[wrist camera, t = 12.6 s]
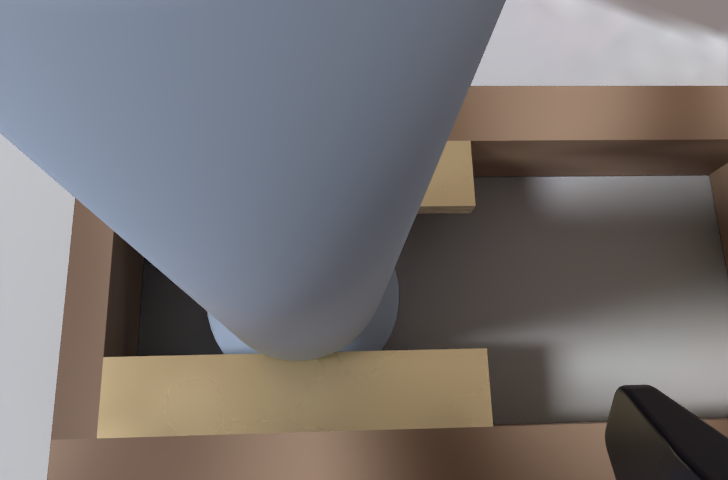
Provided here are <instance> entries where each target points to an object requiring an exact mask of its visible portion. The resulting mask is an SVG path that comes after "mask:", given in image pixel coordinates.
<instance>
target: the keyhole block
mask: <svg viewBox="0 0 728 480" xmlns="http://www.w3.org/2000/svg"><path fill="white" fill-rule="evenodd" d="M636 175H709V177H710V182H711V187H712V193H713V198H714V203H715V209H716V214H717V219H718V225H719V230H720V235H721V241H722V246H723V251H724V257H725V262H726V267H727V273H728V86H470V87H469V90H468V92H467V95H466V97H465V99H464V102H463V104H462V107H461V109H460V111H459V114H458V116H457V119H456V121H455V123H454V126H453V128H452V131H451V133H450V136H449V138H448V140H447V143H446V145H445V148H444V150H443V152H442V155H441V157H440V160H439V162H438V164H437V167H436V169H435V172H434V174H433V176H432V179H431V181H430V184H429V186H428V188H427V191H426V193H425V196H424V198H423V201H422V203H421V205H420V208H419V210H418V213H417V214H435V213H471V212H472V210H473V209H474V207H475V206H476V204H475V192H474V179H473V177H517V176H636ZM143 264H144V257H143V256H142V255H141V254H140V253H139V252H138V251H137V250H135V249H134V248H133V247H132V246H131V245H130V244H128V243H127V242H126V241H125V240H124V239H123V238H121V237H120V236H119V235H118V234H117V233H116V232H114V231H113V230H112V229H111V228H110V227H109V226H107V225H106V224H105V223H104V222H103V221H102V220H101V219H99V218H98V217H97V216H96V215H95V214H94V213H92V212H91V211H90V210H89V209H88V208H87V207H85V206H84V205H83V204H82V203H81V202H80V201H78V200H77V199H76V198H75V205H74V215H73V225H72V235H71V245H70V255H69V265H68V275H67V285H66V295H65V305H64V315H63V325H62V335H61V345H60V355H59V365H58V375H57V384H56V394H55V404H54V414H53V424H52V434H51V444H50V454H49V464H48V474H47V480H616V479H615V475H614V472H613V469H612V465H611V462H610V459H609V455H608V452H607V449H606V444H605V429H606V425H607V421H602V422H568V423H535V424H502V425H493V418H492V405H491V393H490V380H489V368H488V355H487V348H476V349H433V350H390V351H347V352H334V353H332V354H329V355H326V356H323V357H320V358H316V359H311V360H301V361H292V360H282V359H278V358H273V357H270V356H267V355H265V354H262V353H261V354H218V355H175V356H137V352H138V338H139V323H140V308H141V293H142V278H143ZM701 420H703V421H704V422H706V423H707V424H709V425H710V426H712V427H713V428H715V429H716V430H718V431H719V432H720V433H722V434H723V435H725V436H726V437H728V418H702V419H701Z"/></svg>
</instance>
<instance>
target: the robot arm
mask: <svg viewBox="0 0 728 480" xmlns="http://www.w3.org/2000/svg"><path fill="white" fill-rule="evenodd" d="M605 444H606V449H607V452H608V455H609V459H610V462H611V465H612V469H613V472H614V475H615V479H616V480H728V437H726V436H725V435H723V434H722V433H720V432H719V431H718V430H716V429H715V428H713V427H712V426H710V425H709V424H707V423H706V422H704V421H703V420H701V419H700V418H698V417H697V416H696V415H694V414H693V413H691V412H690V411H688V410H687V409H685V408H684V407H682V406H681V405H679V404H678V403H677V402H675V401H674V400H672V399H671V398H669V397H668V396H666V395H665V394H663V393H662V392H660V391H659V390H658V389H656V388H654V387H652V386H650V385H624V386H621V387H619V388H618V389H617V391H616V393H615V395H614V399H613V403H612V407H611V410H610V414H609V418H608V421H607V425H606V429H605Z"/></svg>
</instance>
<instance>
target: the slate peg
mask: <svg viewBox="0 0 728 480" xmlns="http://www.w3.org/2000/svg"><path fill="white" fill-rule="evenodd" d="M505 1H506V0H0V133H1V134H2V135H3V136H4V137H5V138H7V139H8V140H9V141H10V142H11V143H12V144H13V145H15V146H16V147H17V148H18V149H19V150H20V151H22V152H23V153H24V154H25V155H26V156H27V157H29V158H30V159H31V160H32V161H33V162H34V163H36V164H37V165H38V166H39V167H40V168H41V169H42V170H44V171H45V172H46V173H47V174H48V175H49V176H51V177H52V178H53V179H54V180H55V181H56V182H58V183H59V184H60V185H61V186H62V187H63V188H65V189H66V190H67V191H68V192H69V193H70V194H72V195H73V196H74V197H75V198H76V199H77V200H78V201H80V202H81V203H82V204H83V205H84V206H85V207H87V208H88V209H89V210H90V211H91V212H92V213H94V214H95V215H96V216H97V217H98V218H99V219H101V220H102V221H103V222H104V223H105V224H106V225H107V226H109V227H110V228H111V229H112V230H113V231H114V232H116V233H117V234H118V235H119V236H120V237H121V238H123V239H124V240H125V241H126V242H127V243H128V244H130V245H131V246H132V247H133V248H134V249H135V250H137V251H138V252H139V253H140V254H141V255H142V256H143V257H145V258H146V259H147V260H148V261H149V262H150V263H152V264H153V265H154V266H155V267H156V268H157V269H159V270H160V271H161V272H162V273H163V274H164V275H166V276H167V277H168V278H169V279H170V280H171V281H172V282H174V283H175V284H176V285H177V286H178V287H179V288H181V289H182V290H183V291H184V292H185V293H186V294H188V295H189V296H190V297H191V298H192V299H193V300H195V301H196V302H197V303H198V304H199V305H200V306H202V307H203V308H204V309H205V310H206V311H207V314H208V319H209V323H210V327H211V330H212V333H213V335H214V337H215V340H216V342H217V343H218V345H219V347H220V348H221V350H222V352H223V353H224V354H261V353H262V354H265V355H267V356H270V357H273V358H278V359H282V360H292V361H301V360H311V359H316V358H320V357H323V356H326V355H329V354H332V353H334V352H347V351H382V350H383V348H384V346H385V345H386V343H387V342H388V339H389V337H390V335H391V333H392V331H393V328H394V325H395V322H396V318H397V313H398V308H399V286H398V279H397V275H396V270H395V265H396V263H397V261H398V258H399V256H400V253H401V251H402V249H403V246H404V244H405V241H406V239H407V237H408V234H409V232H410V229H411V227H412V225H413V222H414V220H415V217H416V215H417V213H418V210H419V208H420V205H421V203H422V201H423V198H424V196H425V193H426V191H427V188H428V186H429V184H430V181H431V179H432V176H433V174H434V172H435V169H436V167H437V164H438V162H439V160H440V157H441V155H442V152H443V150H444V148H445V145H446V143H447V140H448V138H449V136H450V133H451V131H452V128H453V126H454V123H455V121H456V119H457V116H458V114H459V111H460V109H461V107H462V104H463V102H464V99H465V97H466V95H467V92H468V90H469V87H470V85H471V83H472V80H473V78H474V75H475V73H476V71H477V68H478V66H479V63H480V61H481V59H482V56H483V54H484V51H485V49H486V46H487V44H488V42H489V39H490V37H491V34H492V32H493V30H494V27H495V25H496V22H497V20H498V18H499V15H500V13H501V10H502V8H503V6H504V3H505Z"/></svg>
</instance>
